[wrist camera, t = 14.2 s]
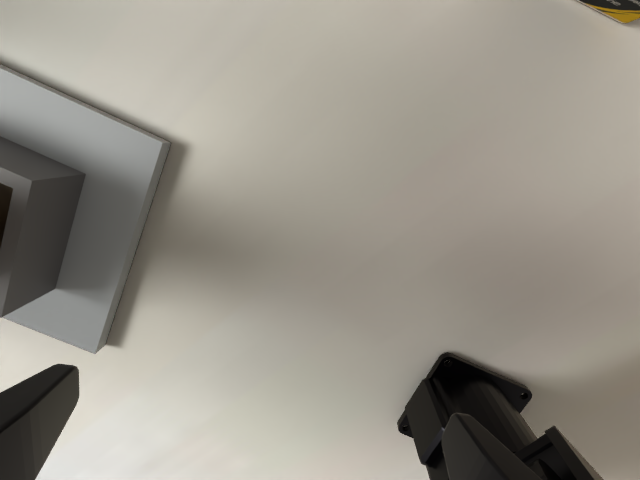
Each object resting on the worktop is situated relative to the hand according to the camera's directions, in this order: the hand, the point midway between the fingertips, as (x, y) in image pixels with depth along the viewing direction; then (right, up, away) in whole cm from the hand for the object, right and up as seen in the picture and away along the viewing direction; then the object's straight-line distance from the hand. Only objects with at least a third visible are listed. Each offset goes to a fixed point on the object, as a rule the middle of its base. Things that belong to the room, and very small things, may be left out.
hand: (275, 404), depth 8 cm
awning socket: (-18, +7, +12) cm, 23 cm away
